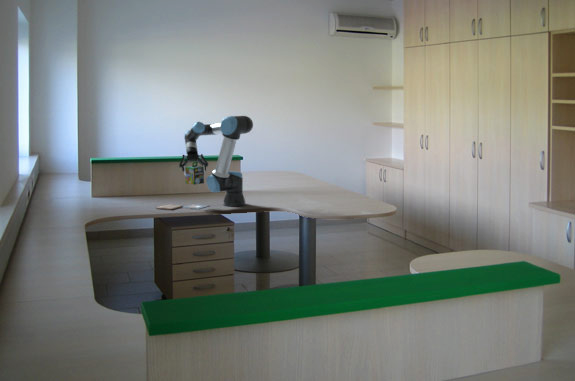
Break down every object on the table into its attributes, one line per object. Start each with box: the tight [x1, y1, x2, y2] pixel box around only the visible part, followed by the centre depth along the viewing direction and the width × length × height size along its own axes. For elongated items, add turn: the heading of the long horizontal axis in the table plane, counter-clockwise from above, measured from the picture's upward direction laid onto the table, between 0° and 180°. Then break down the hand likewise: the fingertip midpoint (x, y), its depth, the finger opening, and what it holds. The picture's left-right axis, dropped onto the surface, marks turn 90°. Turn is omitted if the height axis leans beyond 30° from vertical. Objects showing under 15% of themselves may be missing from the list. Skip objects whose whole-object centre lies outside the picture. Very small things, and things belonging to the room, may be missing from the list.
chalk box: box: [185, 161, 205, 185], centre depth 428 cm, size 9×9×15 cm
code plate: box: [180, 203, 211, 210], centre depth 432 cm, size 14×14×1 cm
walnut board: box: [155, 203, 184, 211], centre depth 429 cm, size 13×13×1 cm
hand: (195, 174), depth 426 cm, fingers closed on chalk box, 12 cm apart
